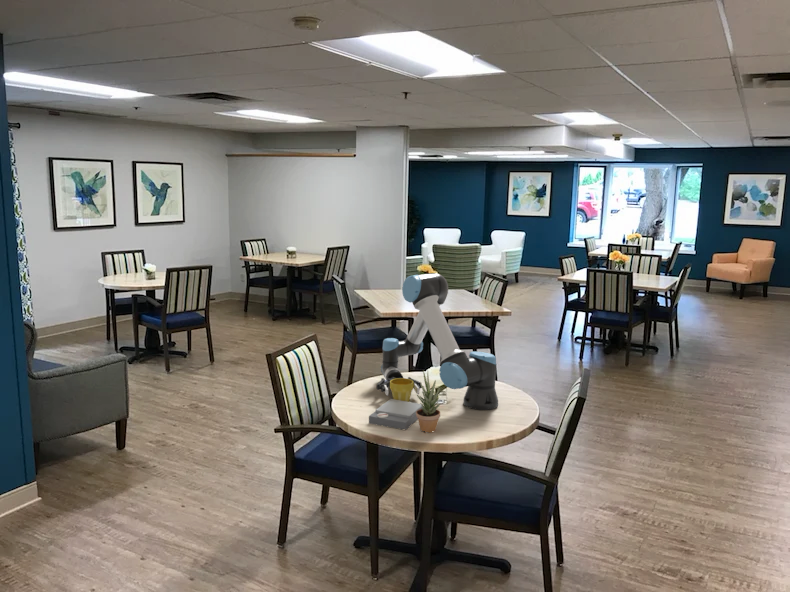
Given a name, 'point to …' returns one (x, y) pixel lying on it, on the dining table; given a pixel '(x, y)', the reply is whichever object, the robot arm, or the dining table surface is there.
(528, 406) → the dining table surface
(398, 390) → the plant pot
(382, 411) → the kitchen scale
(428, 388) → the potted plant
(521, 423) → the dining table surface
